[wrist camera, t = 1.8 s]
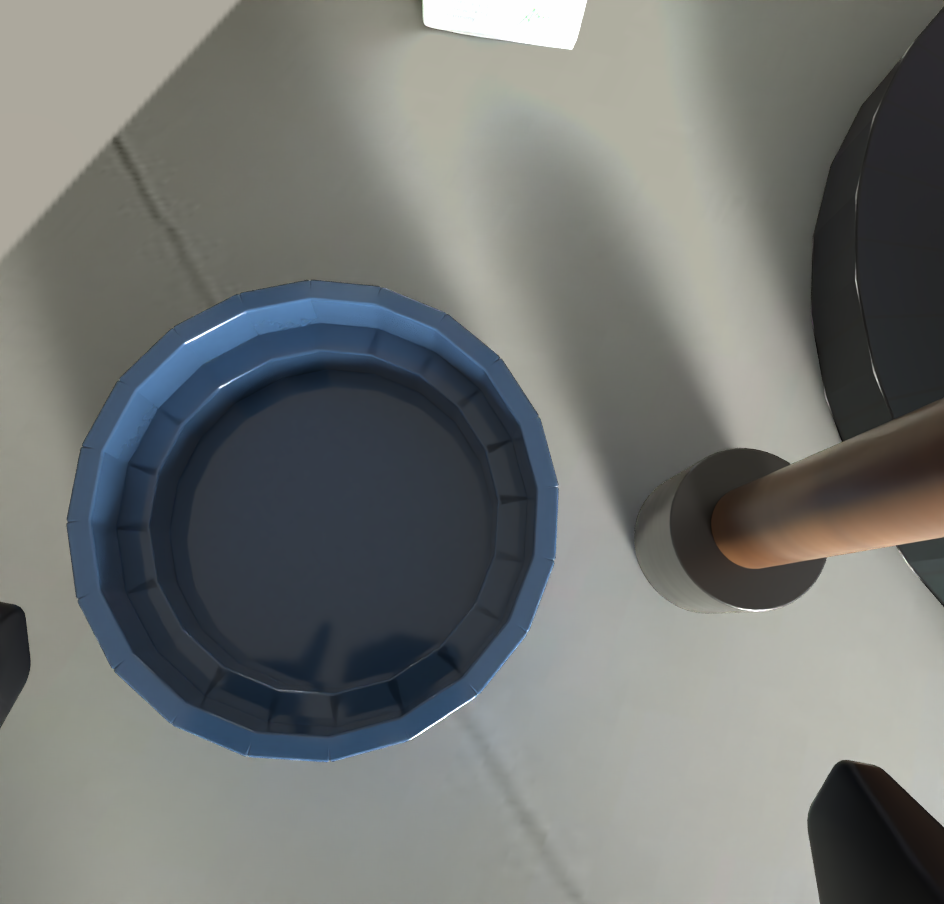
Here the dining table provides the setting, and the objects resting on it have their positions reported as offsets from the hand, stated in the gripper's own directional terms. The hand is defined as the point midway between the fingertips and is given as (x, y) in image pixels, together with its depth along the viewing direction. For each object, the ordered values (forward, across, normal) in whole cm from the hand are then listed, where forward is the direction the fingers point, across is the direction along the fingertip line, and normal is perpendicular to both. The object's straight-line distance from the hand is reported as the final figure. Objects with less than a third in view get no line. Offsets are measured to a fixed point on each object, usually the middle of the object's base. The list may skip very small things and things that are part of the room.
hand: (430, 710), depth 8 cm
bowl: (+13, +3, +7) cm, 15 cm away
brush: (+14, -8, +6) cm, 17 cm away
